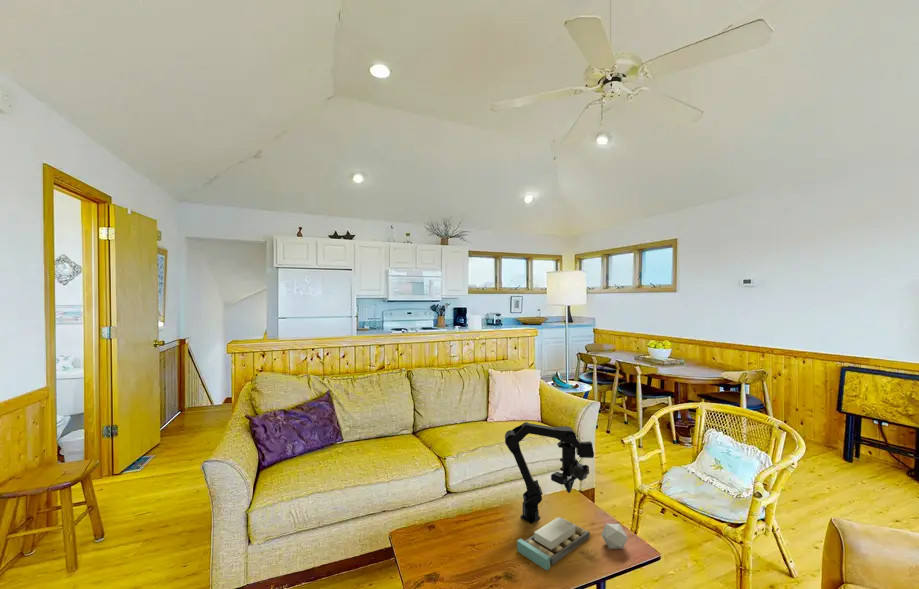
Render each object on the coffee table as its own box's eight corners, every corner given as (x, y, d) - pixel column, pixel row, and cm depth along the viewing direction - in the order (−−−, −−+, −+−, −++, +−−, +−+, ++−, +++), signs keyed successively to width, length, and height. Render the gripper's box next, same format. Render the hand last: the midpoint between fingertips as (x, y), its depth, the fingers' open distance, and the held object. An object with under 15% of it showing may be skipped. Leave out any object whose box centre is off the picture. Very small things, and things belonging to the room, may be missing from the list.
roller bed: (524, 547, 150) (524, 539, 150) (561, 522, 166) (561, 515, 166) (552, 565, 140) (552, 557, 140) (589, 537, 156) (589, 530, 156)
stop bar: (517, 551, 148) (517, 540, 148) (520, 548, 149) (520, 538, 149) (546, 570, 137) (546, 559, 137) (550, 568, 138) (550, 557, 138)
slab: (534, 539, 150) (534, 532, 150) (558, 523, 160) (558, 516, 160) (551, 549, 144) (551, 541, 144) (575, 532, 154) (575, 525, 154)
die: (624, 559, 144) (634, 532, 147) (602, 544, 146) (612, 518, 149) (615, 553, 152) (625, 528, 155) (595, 539, 154) (604, 515, 157)
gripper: (572, 469, 157) (572, 507, 156) (596, 456, 169) (597, 492, 169) (550, 460, 165) (550, 496, 165) (574, 449, 177) (574, 483, 177)
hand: (569, 492), depth 169 cm, fingers closed
